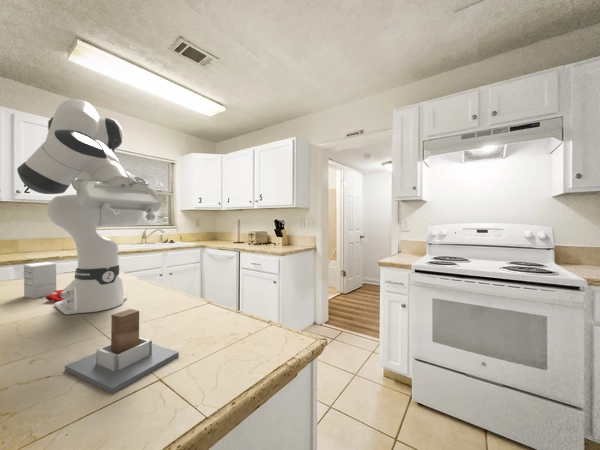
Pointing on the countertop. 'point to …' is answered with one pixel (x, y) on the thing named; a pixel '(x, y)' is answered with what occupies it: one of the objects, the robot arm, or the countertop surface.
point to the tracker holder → (55, 296)
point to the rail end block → (124, 330)
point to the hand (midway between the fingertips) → (135, 218)
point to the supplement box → (39, 279)
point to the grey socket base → (121, 365)
